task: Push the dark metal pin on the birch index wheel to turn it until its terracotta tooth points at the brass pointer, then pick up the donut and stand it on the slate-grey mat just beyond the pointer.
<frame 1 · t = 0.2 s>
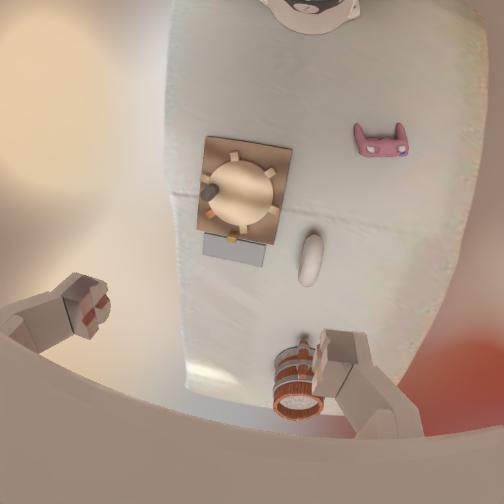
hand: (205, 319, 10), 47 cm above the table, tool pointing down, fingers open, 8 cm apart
mug: (301, 357, 74), on the table
donut: (309, 249, 60), on the table
index wheel: (237, 195, 52), point 4 cm above the table, hinge at 0.0°
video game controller: (378, 138, 48), on the table
donut mat: (233, 249, 62), on the table
wheel base: (242, 189, 56), on the table
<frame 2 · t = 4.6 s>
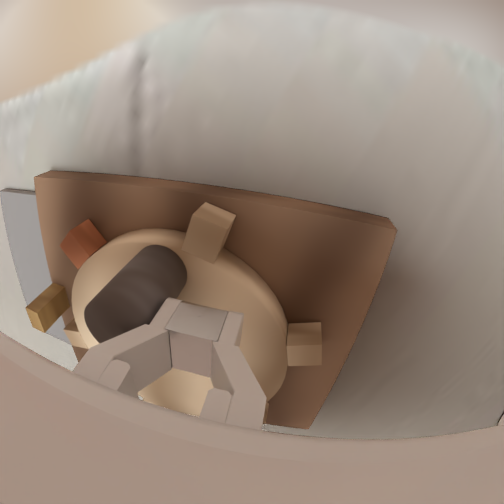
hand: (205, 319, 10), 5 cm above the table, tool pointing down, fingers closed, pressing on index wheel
index wheel: (158, 367, 13), point 4 cm above the table, hinge at 0.0°, touching gripper
donut mat: (37, 270, 18), on the table
wheel base: (186, 315, 17), on the table
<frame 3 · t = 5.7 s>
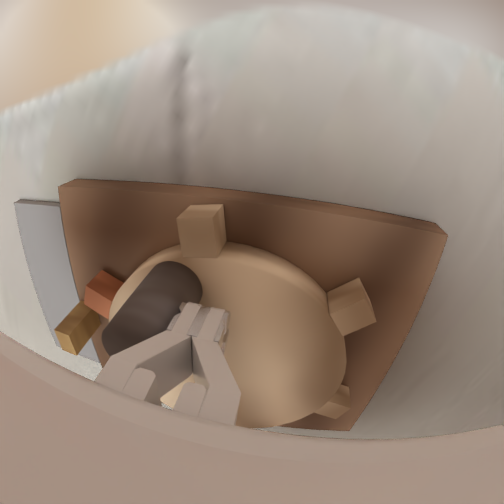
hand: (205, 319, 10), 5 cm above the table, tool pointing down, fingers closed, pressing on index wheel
index wheel: (213, 386, 13), point 4 cm above the table, hinge at 23.3°, touching gripper
donut mat: (58, 286, 18), on the table
wheel base: (231, 327, 17), on the table
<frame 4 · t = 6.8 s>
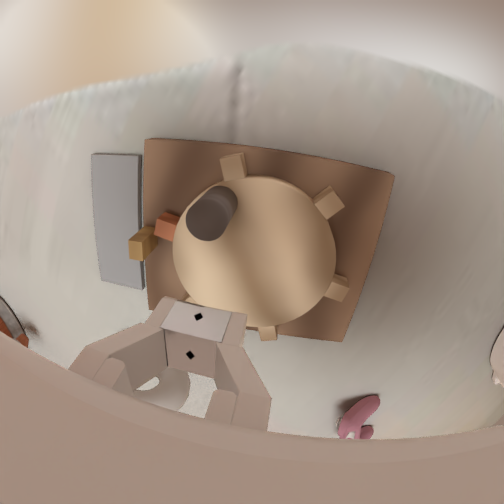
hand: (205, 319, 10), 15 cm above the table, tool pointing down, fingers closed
mug: (9, 321, 36), on the table
donut: (160, 350, 32), on the table
index wheel: (250, 269, 21), point 4 cm above the table, hinge at 32.9°
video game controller: (355, 413, 34), on the table
donut mat: (118, 223, 25), on the table
wheel base: (256, 244, 25), on the table
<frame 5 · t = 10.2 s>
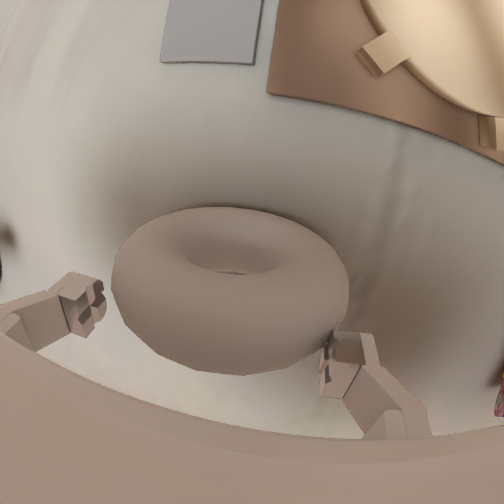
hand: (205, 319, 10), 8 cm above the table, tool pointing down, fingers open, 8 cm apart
donut: (252, 226, 17), on the table, touching gripper
wheel base: (453, 14, 9), on the table
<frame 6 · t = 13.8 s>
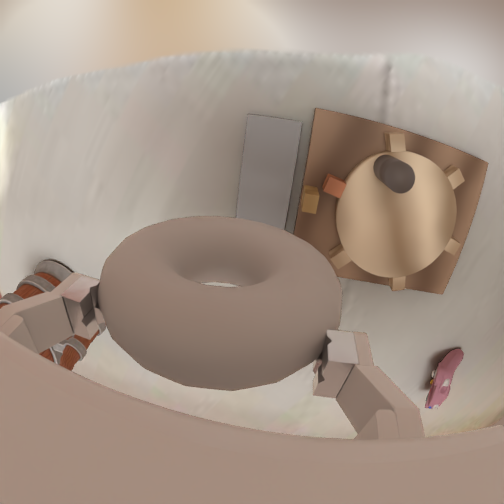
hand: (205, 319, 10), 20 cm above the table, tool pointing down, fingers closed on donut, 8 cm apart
mug: (75, 297, 40), on the table
donut: (242, 236, 17), point 13 cm above the table, touching gripper
index wheel: (405, 223, 23), point 4 cm above the table, hinge at 32.9°
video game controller: (438, 369, 36), on the table
donut mat: (266, 182, 28), on the table
wheel base: (391, 208, 27), on the table
when the fingers open (10 cm above the table, at t = 17.0 s): donut stays where it is, resting on donut mat, wheel base.
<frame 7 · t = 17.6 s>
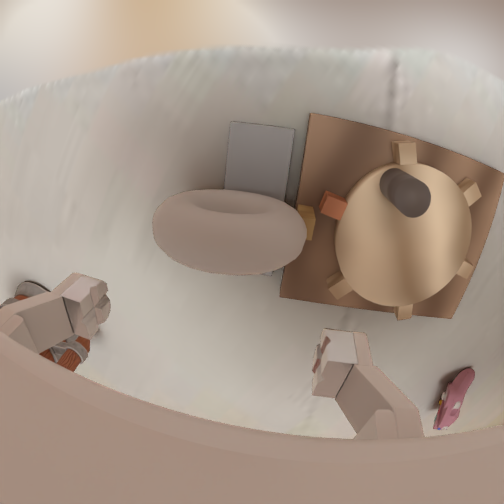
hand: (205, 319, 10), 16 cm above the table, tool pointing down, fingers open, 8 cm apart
mug: (58, 320, 36), on the table
donut: (261, 209, 23), point 1 cm above the table, touching donut mat, wheel base
index wheel: (415, 248, 20), point 4 cm above the table, hinge at 32.9°
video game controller: (448, 388, 33), on the table
donut mat: (253, 201, 25), on the table
wheel base: (398, 227, 24), on the table
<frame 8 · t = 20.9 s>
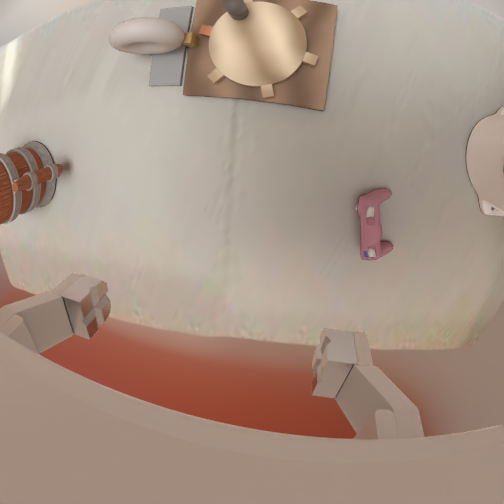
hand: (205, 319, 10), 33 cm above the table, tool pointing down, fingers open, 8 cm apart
mug: (43, 171, 46), on the table
donut: (172, 44, 32), point 1 cm above the table, touching donut mat, wheel base
index wheel: (255, 39, 28), point 4 cm above the table, hinge at 32.9°
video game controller: (372, 219, 41), on the table
donut mat: (171, 45, 33), on the table
wheel base: (259, 46, 32), on the table
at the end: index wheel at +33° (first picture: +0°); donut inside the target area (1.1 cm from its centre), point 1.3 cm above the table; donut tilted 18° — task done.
